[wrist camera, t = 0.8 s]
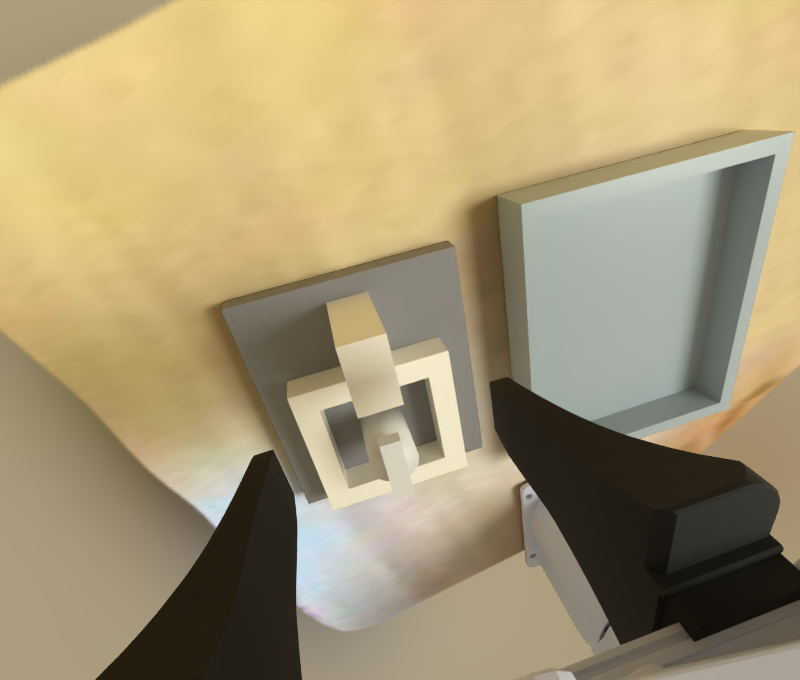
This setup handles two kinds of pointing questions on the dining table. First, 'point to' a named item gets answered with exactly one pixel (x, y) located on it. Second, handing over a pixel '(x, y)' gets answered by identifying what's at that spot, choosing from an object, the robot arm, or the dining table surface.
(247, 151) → the dining table surface
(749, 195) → the tray
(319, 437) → the square frame with tab
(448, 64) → the dining table surface
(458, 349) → the plate
